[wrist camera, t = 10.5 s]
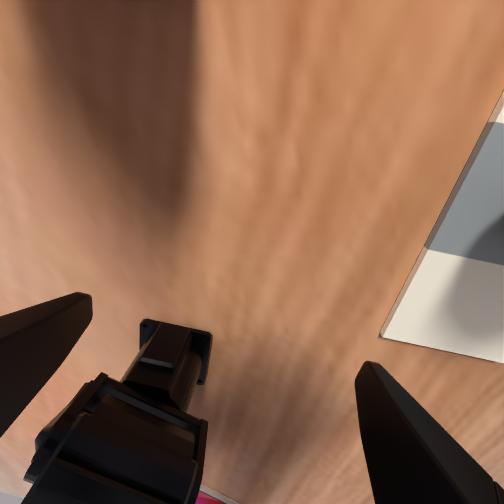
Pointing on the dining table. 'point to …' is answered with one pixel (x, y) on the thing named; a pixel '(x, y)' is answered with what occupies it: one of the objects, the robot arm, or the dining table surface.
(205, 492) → the smartphone
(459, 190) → the game board
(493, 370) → the dining table surface
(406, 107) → the dining table surface
